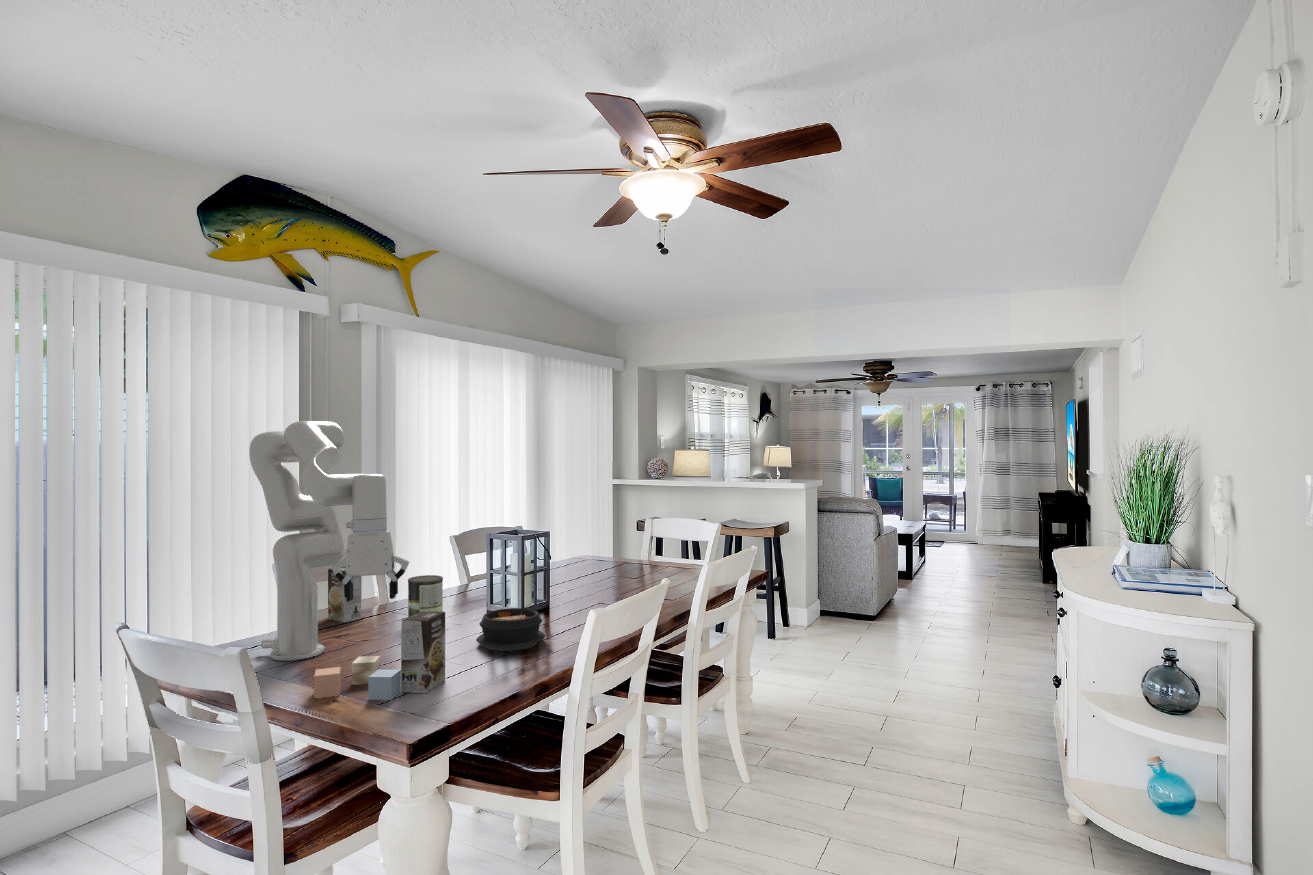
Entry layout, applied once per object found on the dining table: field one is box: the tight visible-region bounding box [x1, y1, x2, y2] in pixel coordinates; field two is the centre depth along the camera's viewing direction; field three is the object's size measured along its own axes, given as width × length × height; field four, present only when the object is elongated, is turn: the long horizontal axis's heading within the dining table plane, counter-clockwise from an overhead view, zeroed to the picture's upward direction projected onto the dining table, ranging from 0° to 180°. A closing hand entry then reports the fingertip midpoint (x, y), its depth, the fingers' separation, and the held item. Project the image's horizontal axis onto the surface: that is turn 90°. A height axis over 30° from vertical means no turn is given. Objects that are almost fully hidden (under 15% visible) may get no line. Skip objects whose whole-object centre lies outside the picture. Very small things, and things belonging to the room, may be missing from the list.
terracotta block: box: [313, 666, 342, 699], centre depth 155 cm, size 5×5×5 cm
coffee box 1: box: [327, 565, 362, 623], centre depth 223 cm, size 9×6×16 cm
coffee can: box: [407, 574, 444, 617], centre depth 216 cm, size 10×10×14 cm
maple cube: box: [351, 655, 382, 685], centre depth 164 cm, size 5×5×5 cm
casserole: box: [475, 607, 546, 652], centre depth 193 cm, size 25×19×8 cm
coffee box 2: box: [400, 611, 446, 695], centre depth 160 cm, size 9×6×16 cm
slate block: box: [367, 669, 401, 701], centre depth 154 cm, size 5×5×5 cm
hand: (371, 599), depth 166 cm, fingers open, 9 cm apart
